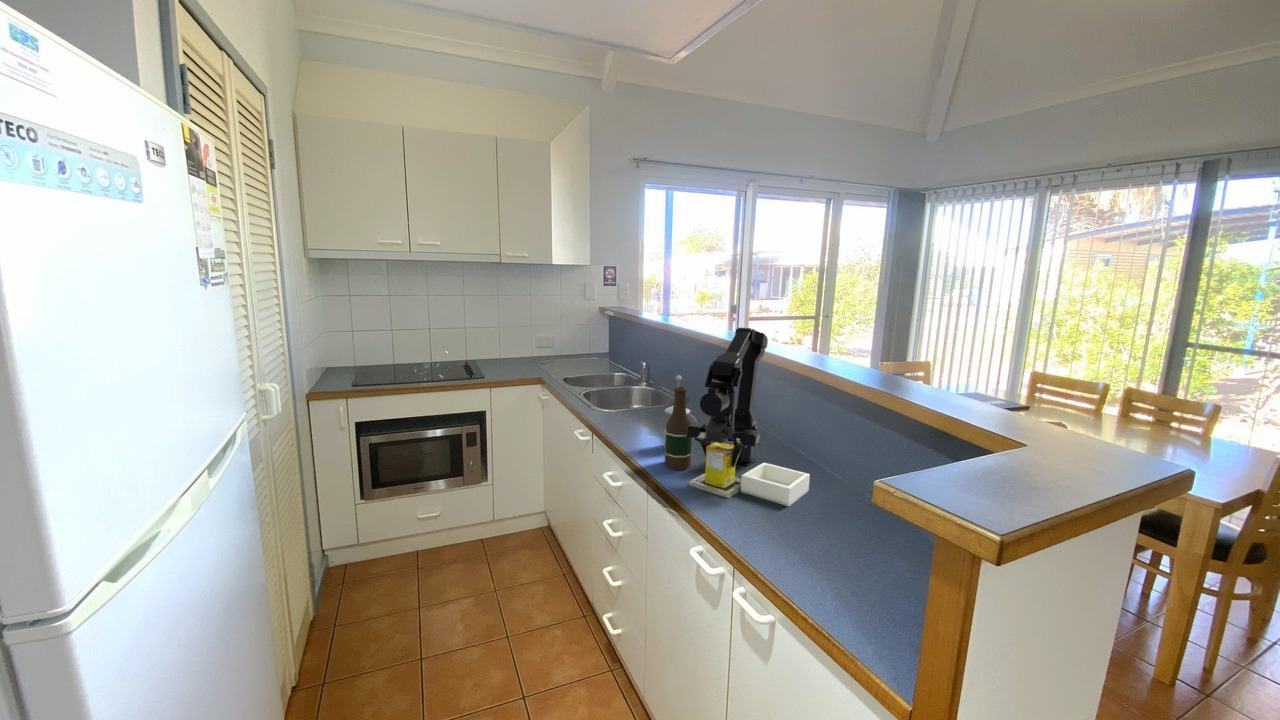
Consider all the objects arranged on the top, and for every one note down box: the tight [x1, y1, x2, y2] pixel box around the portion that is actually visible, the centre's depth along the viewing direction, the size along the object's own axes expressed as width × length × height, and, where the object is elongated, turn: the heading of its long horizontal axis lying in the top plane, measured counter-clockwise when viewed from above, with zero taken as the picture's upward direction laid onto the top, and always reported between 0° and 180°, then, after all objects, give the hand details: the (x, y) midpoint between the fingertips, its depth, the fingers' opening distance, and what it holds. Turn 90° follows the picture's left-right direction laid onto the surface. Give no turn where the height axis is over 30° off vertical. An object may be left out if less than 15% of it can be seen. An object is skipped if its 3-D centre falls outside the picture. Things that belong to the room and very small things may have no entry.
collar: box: [688, 473, 742, 499], centre depth 136 cm, size 12×12×1 cm
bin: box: [740, 462, 811, 507], centre depth 133 cm, size 13×13×5 cm
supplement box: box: [704, 442, 736, 491], centre depth 135 cm, size 6×6×11 cm
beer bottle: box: [664, 386, 693, 471], centre depth 147 cm, size 8×8×24 cm
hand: (720, 464), depth 136 cm, fingers closed on supplement box, 6 cm apart
